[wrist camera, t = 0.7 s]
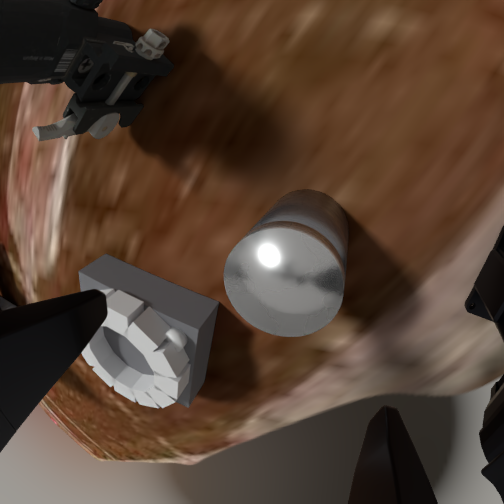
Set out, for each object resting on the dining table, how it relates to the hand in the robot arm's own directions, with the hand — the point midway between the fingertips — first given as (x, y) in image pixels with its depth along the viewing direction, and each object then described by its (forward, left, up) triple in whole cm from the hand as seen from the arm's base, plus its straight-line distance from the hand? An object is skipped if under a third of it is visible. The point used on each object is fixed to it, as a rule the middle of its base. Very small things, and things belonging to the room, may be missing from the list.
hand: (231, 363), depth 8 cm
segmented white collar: (+10, +13, -12) cm, 20 cm away
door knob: (0, 0, -12) cm, 12 cm away
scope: (+16, -9, -12) cm, 22 cm away
